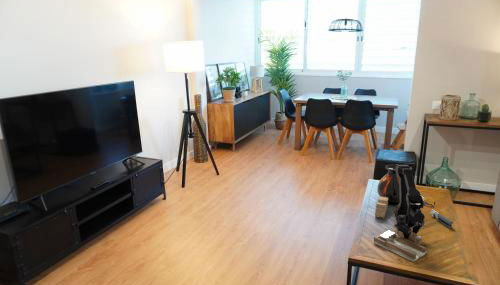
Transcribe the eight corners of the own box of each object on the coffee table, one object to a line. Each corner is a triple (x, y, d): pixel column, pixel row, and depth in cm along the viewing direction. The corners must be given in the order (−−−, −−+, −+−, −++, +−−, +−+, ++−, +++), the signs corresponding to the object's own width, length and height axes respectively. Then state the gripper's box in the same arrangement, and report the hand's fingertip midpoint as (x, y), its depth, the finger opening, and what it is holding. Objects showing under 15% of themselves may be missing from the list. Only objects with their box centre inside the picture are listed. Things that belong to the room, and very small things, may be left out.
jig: (387, 235, 208) (388, 230, 207) (427, 252, 189) (427, 247, 188) (373, 242, 200) (374, 237, 199) (413, 261, 181) (413, 256, 180)
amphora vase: (378, 195, 266) (380, 161, 259) (408, 200, 257) (412, 164, 250) (374, 206, 247) (377, 169, 240) (407, 211, 238) (411, 173, 231)
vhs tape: (433, 210, 241) (433, 207, 241) (420, 207, 245) (421, 204, 245) (435, 202, 253) (435, 200, 252) (423, 200, 257) (423, 197, 256)
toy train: (374, 218, 229) (375, 205, 227) (378, 209, 243) (379, 195, 241) (383, 220, 226) (384, 206, 224) (387, 210, 241) (388, 197, 238)
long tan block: (404, 234, 209) (405, 226, 208) (422, 246, 196) (423, 237, 195) (398, 235, 208) (398, 227, 206) (415, 247, 195) (416, 239, 194)
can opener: (427, 215, 233) (428, 208, 231) (436, 214, 233) (437, 207, 232) (446, 229, 214) (447, 221, 213) (456, 228, 215) (457, 220, 214)
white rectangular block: (388, 236, 205) (388, 230, 204) (394, 239, 202) (394, 232, 201) (379, 241, 200) (380, 235, 199) (385, 244, 197) (386, 238, 196)
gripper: (408, 205, 210) (405, 228, 214) (390, 213, 199) (388, 238, 203) (426, 211, 201) (423, 235, 205) (408, 220, 190) (406, 246, 194)
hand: (409, 238), depth 202 cm, fingers open, 8 cm apart
